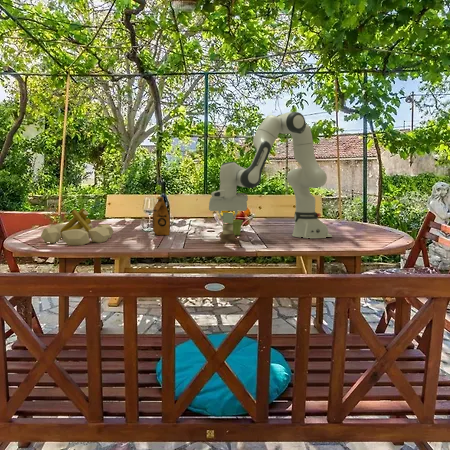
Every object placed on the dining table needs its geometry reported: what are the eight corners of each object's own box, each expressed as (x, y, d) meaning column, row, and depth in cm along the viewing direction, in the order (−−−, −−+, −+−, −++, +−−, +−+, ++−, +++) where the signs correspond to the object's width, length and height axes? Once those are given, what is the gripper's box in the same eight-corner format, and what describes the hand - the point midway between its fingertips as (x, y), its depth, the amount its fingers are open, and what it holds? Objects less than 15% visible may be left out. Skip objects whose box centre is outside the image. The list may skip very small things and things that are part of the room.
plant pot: (224, 235, 237) (224, 220, 236) (231, 233, 245) (231, 219, 244) (238, 236, 233) (238, 221, 232) (245, 234, 241) (245, 220, 240)
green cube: (232, 221, 218) (232, 212, 218) (233, 223, 213) (233, 213, 213) (222, 221, 218) (222, 212, 217) (223, 223, 213) (223, 213, 212)
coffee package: (153, 236, 233) (153, 197, 230) (152, 232, 245) (151, 196, 242) (171, 235, 235) (170, 197, 232) (168, 232, 247) (168, 196, 244)
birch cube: (232, 232, 219) (232, 223, 218) (232, 234, 214) (233, 224, 213) (222, 232, 219) (222, 223, 218) (223, 234, 214) (223, 224, 213)
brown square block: (233, 240, 220) (233, 232, 220) (234, 242, 214) (234, 234, 213) (220, 240, 220) (220, 232, 219) (221, 242, 213) (221, 234, 213)
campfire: (124, 237, 227) (123, 207, 225) (88, 248, 195) (87, 212, 193) (70, 234, 237) (69, 205, 234) (27, 244, 204) (25, 210, 202)
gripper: (247, 193, 218) (246, 218, 219) (208, 192, 216) (208, 218, 218) (248, 193, 211) (248, 220, 213) (209, 193, 210) (209, 220, 211)
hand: (227, 219), depth 215 cm, fingers closed on green cube, 5 cm apart
